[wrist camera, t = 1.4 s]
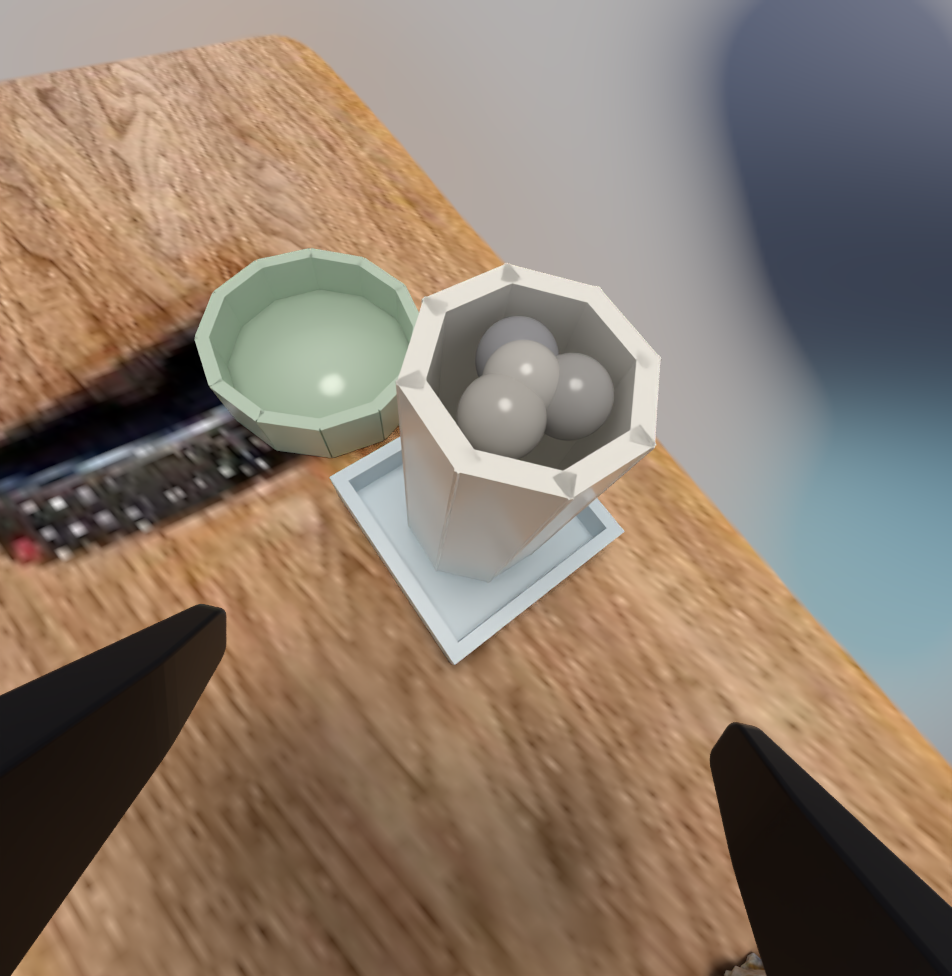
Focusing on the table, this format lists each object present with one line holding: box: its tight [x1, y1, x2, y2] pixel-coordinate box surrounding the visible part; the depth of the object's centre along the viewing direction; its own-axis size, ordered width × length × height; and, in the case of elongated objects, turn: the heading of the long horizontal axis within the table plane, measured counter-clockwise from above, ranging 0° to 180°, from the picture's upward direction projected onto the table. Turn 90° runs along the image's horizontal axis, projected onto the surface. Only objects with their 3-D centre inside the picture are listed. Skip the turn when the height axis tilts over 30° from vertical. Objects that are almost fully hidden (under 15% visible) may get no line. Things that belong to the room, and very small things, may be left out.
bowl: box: [195, 248, 419, 458], centre depth 23 cm, size 10×10×3 cm
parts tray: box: [329, 437, 624, 665], centre depth 21 cm, size 10×10×2 cm
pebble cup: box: [396, 263, 661, 583], centre depth 16 cm, size 6×6×12 cm
